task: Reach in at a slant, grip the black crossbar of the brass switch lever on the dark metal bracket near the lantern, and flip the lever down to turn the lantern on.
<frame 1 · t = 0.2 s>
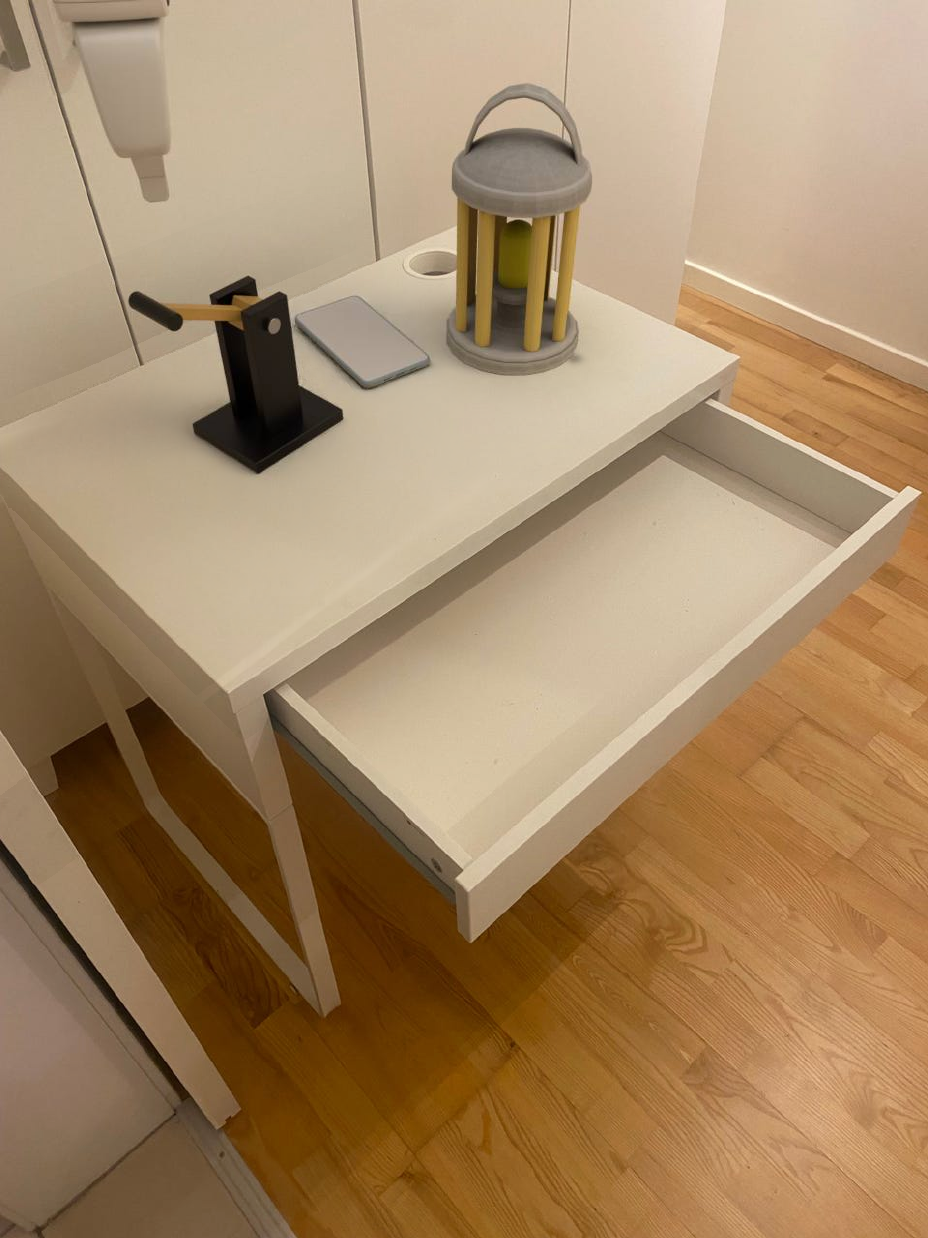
hand: (155, 169, 71), 25 cm above the table, tool pointing down, fingers open, 8 cm apart
lantern: (511, 338, 103), on the table
switch bracket: (269, 426, 92), on the table
smartphone: (361, 345, 102), on the table
lever: (208, 312, 79), point 14 cm above the table, hinge at 25.0°
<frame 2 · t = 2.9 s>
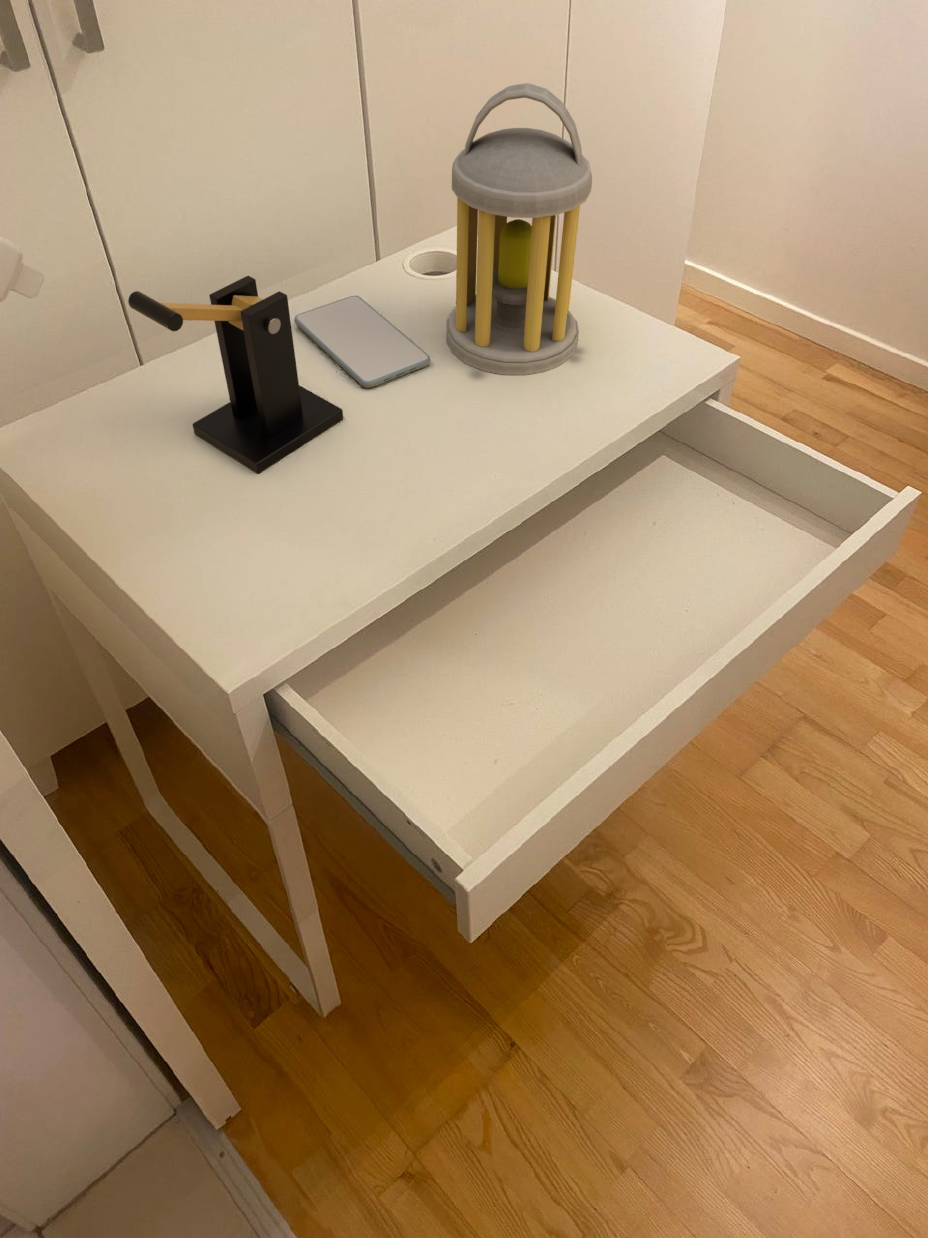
nothing on the table moved.
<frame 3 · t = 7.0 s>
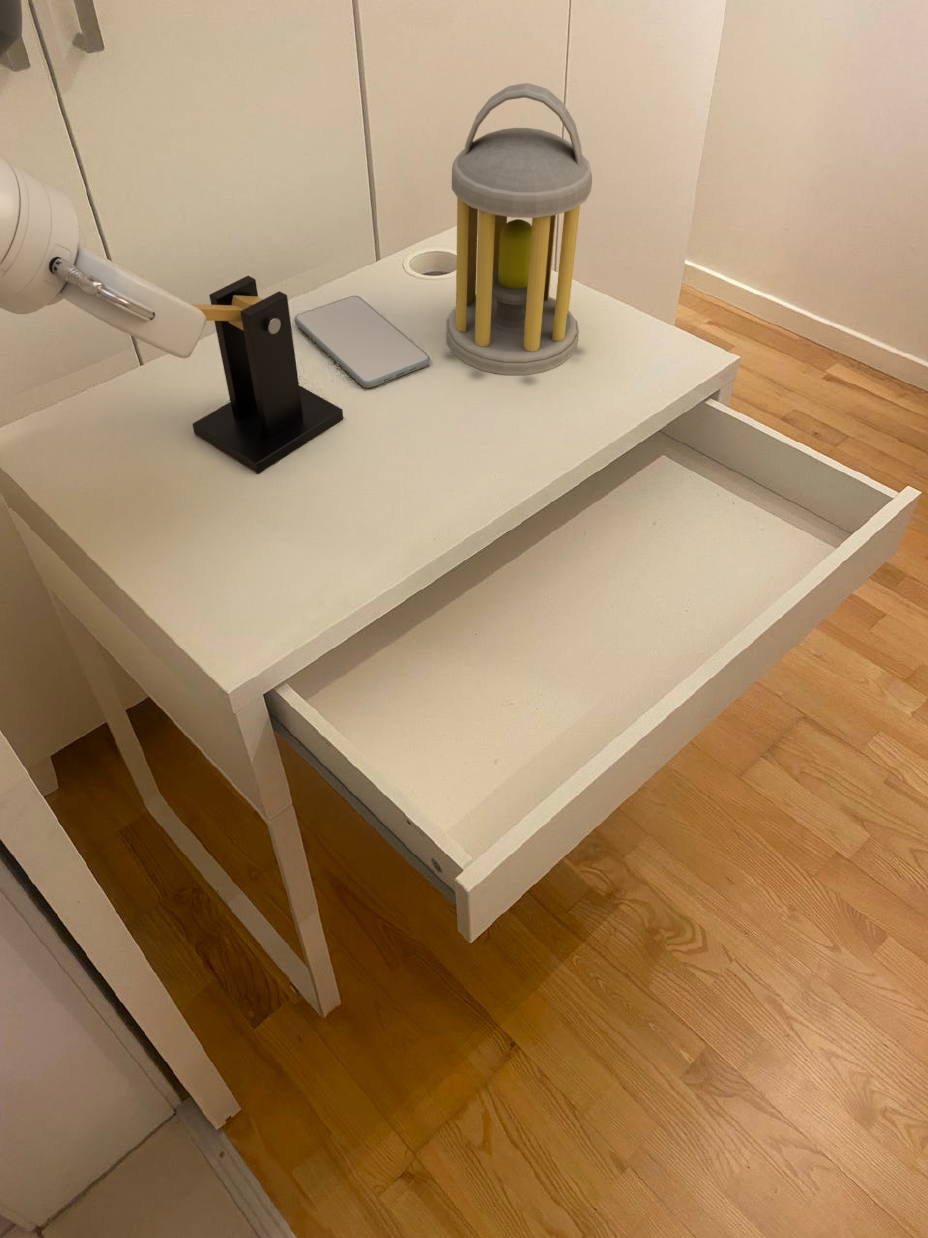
hand: (163, 314, 76), 16 cm above the table, tool tilted 45°, fingers closed on lever, 5 cm apart
lever: (208, 312, 79), point 14 cm above the table, hinge at 25.0°, touching gripper
everything else where it was.
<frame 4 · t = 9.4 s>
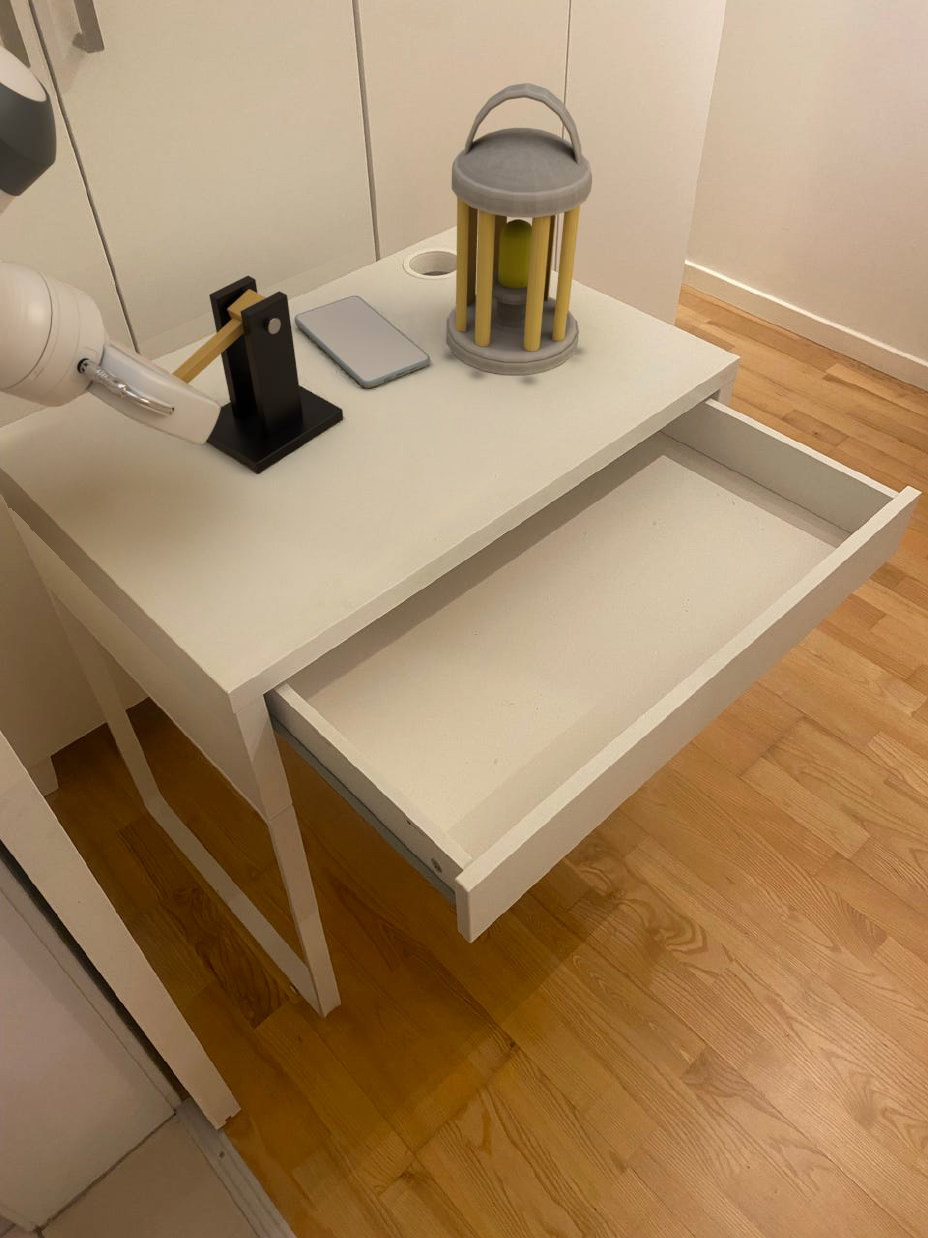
hand: (179, 394, 81), 8 cm above the table, tool tilted 45°, fingers closed on lever, 5 cm apart
lever: (213, 348, 82), point 11 cm above the table, hinge at -15.9°, touching gripper
everything else where it was.
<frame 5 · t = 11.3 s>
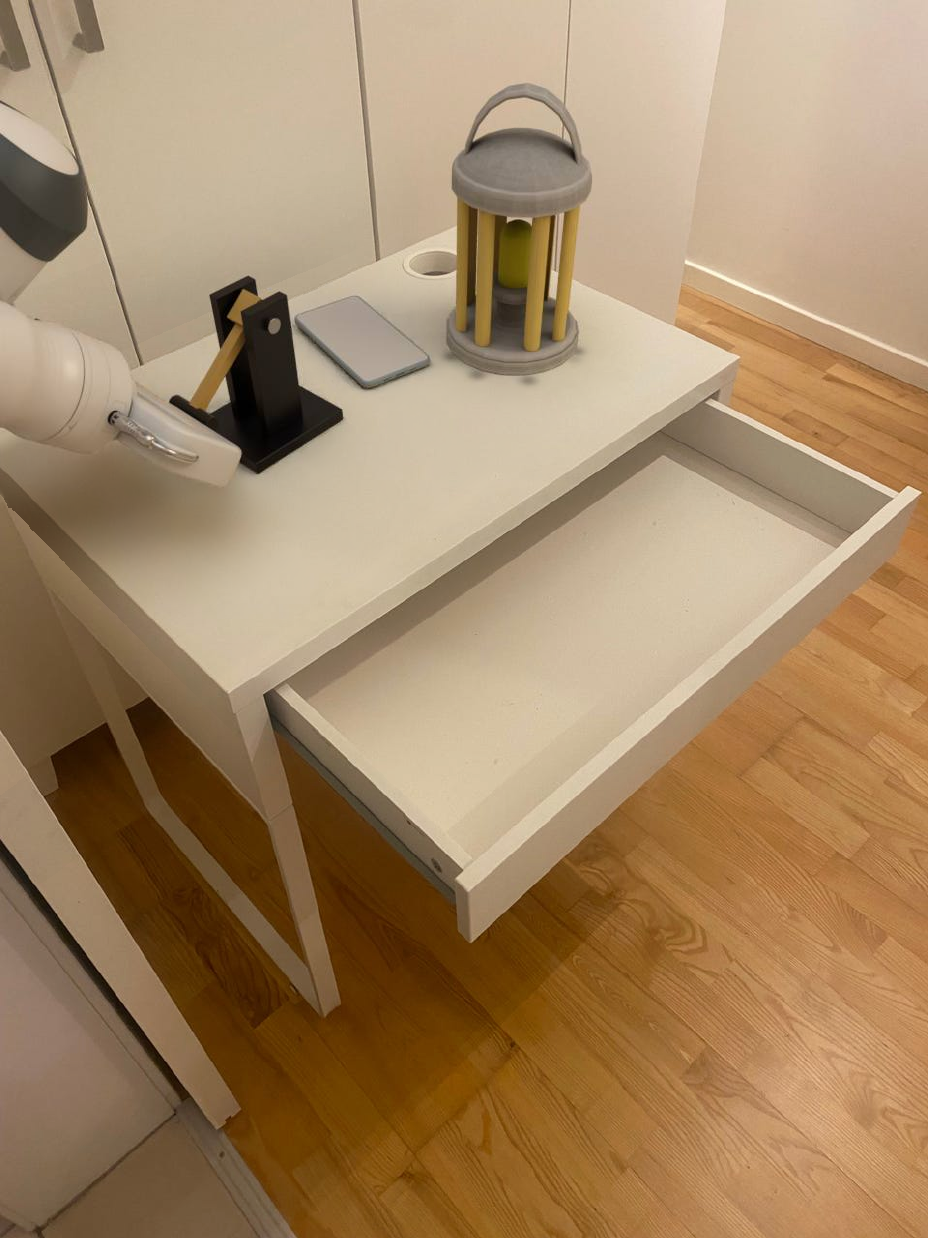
hand: (200, 433, 85), 3 cm above the table, tool tilted 45°, fingers closed on lever, 5 cm apart
lever: (224, 360, 83), point 9 cm above the table, hinge at -38.2°, touching gripper
everything else where it was.
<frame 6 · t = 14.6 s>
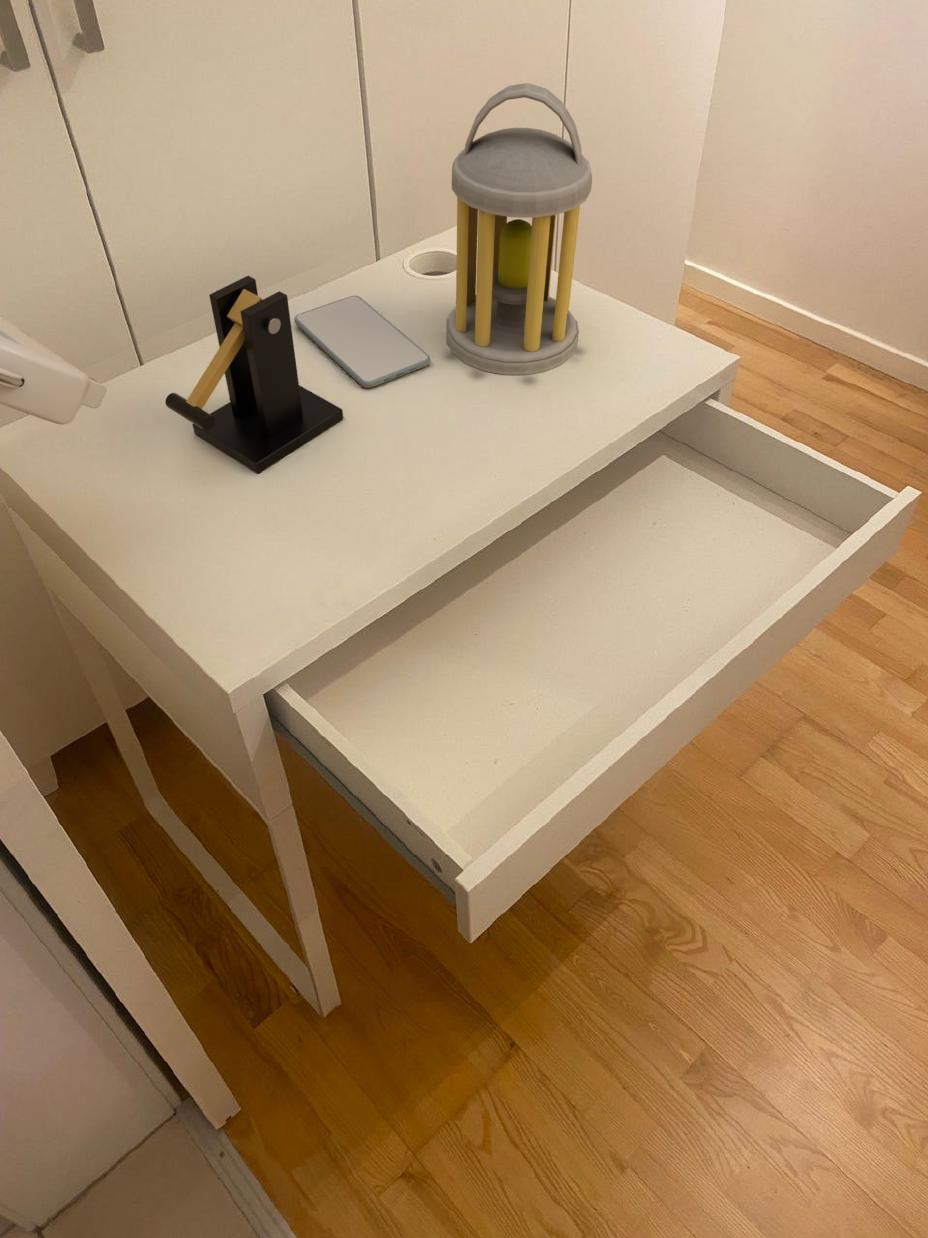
hand: (59, 368, 70), 16 cm above the table, tool tilted 45°, fingers open, 8 cm apart
lever: (222, 359, 83), point 9 cm above the table, hinge at -35.7°
everything else where it was.
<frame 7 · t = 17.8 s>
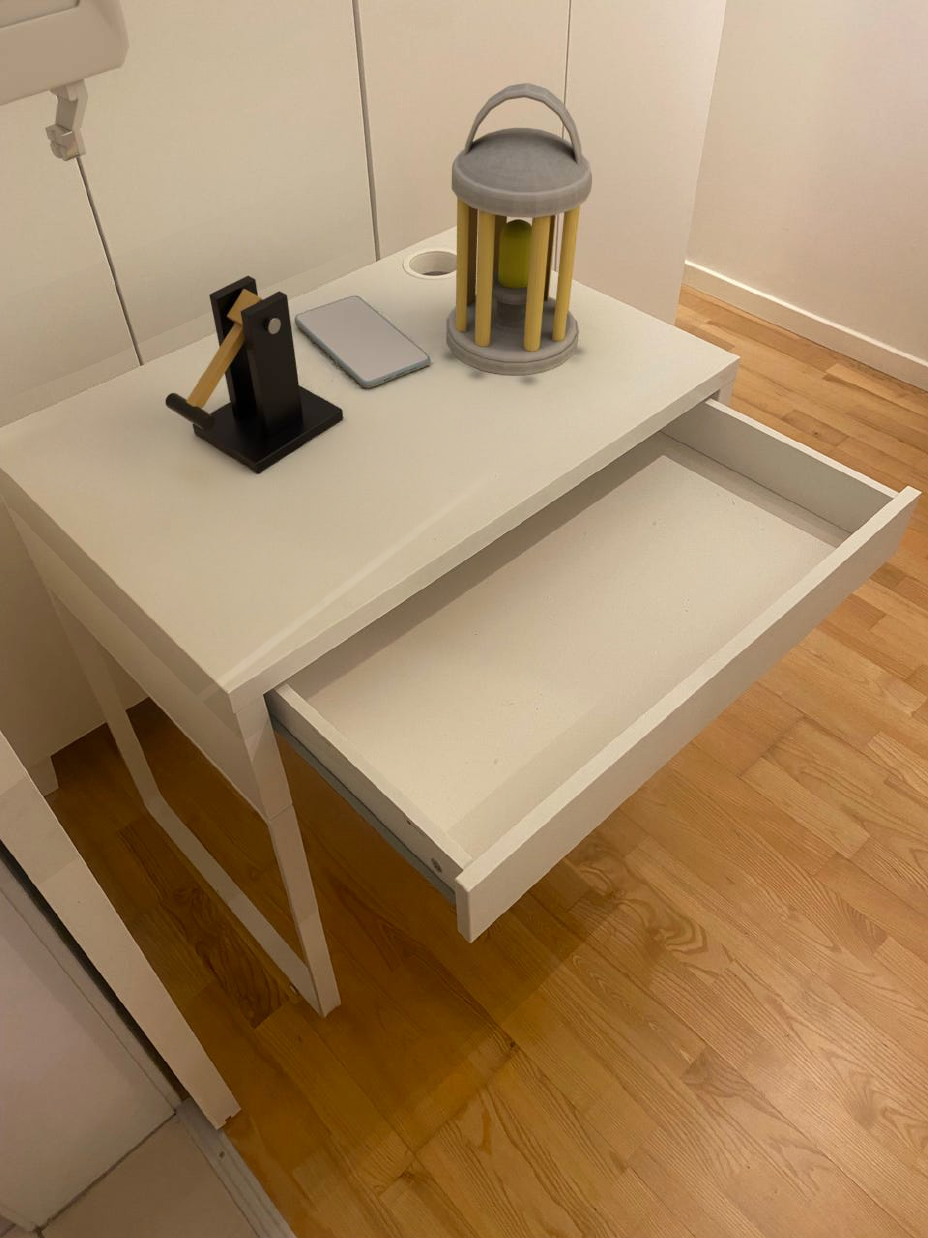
hand: (7, 179, 61), 29 cm above the table, tool pointing down, fingers open, 8 cm apart
nothing on the table moved.
at the end: lever at -36° (first picture: +25°); lantern moved 0.2 cm from its start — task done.
